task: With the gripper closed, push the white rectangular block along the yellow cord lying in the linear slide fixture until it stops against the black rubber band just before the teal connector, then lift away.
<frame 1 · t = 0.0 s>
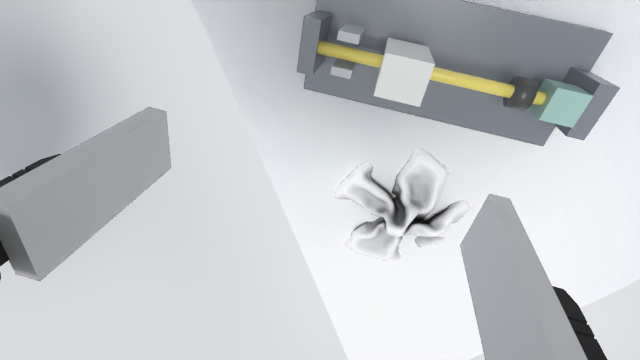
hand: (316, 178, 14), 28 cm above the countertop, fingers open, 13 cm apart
white rectangular block: (402, 69, 30), point 7 cm above the countertop, slide at 0.0 cm
linear slide fixture: (438, 61, 36), on the countertop
cloth: (407, 206, 48), on the countertop
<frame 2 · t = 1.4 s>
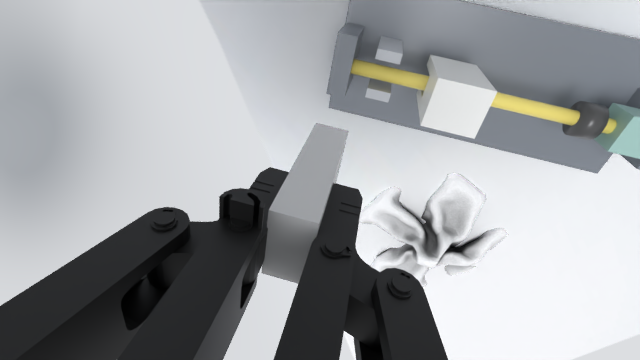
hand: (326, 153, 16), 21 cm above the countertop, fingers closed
white rectangular block: (450, 93, 27), point 7 cm above the countertop, slide at 0.0 cm
linear slide fixture: (482, 79, 32), on the countertop
cloth: (436, 232, 44), on the countertop
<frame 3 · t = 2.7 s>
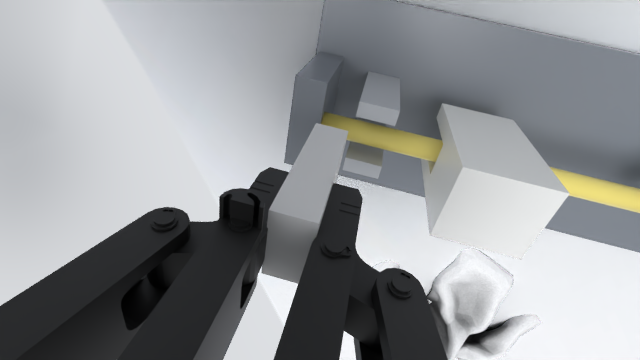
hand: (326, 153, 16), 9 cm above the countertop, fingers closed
white rectangular block: (476, 170, 17), point 7 cm above the countertop, slide at 0.0 cm
linear slide fixture: (515, 132, 22), on the countertop
cloth: (445, 312, 34), on the countertop
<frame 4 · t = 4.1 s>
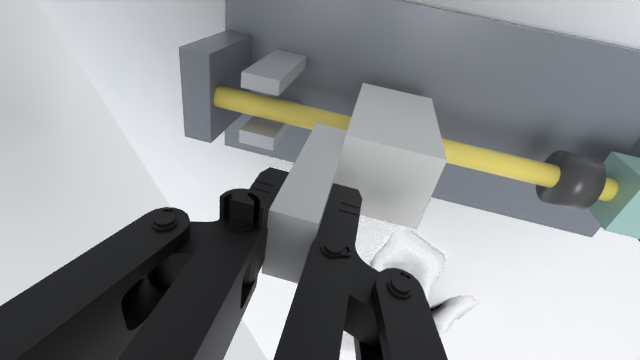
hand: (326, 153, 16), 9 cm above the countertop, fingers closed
white rectangular block: (386, 146, 17), point 7 cm above the countertop, slide at 1.5 cm, touching gripper
linear slide fixture: (426, 109, 23), on the countertop
cloth: (389, 294, 34), on the countertop
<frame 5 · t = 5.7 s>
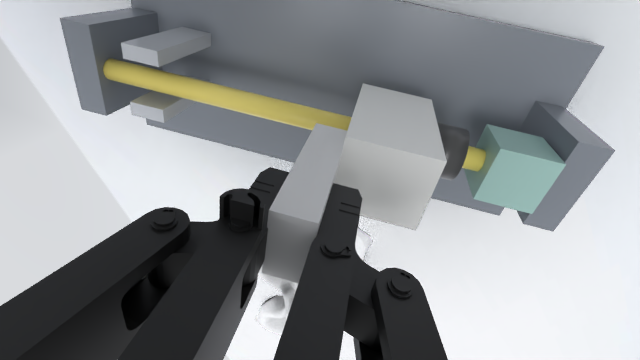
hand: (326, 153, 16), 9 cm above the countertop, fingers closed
white rectangular block: (385, 147, 17), point 7 cm above the countertop, slide at 8.0 cm, touching gripper
linear slide fixture: (333, 87, 23), on the countertop
cloth: (326, 278, 35), on the countertop
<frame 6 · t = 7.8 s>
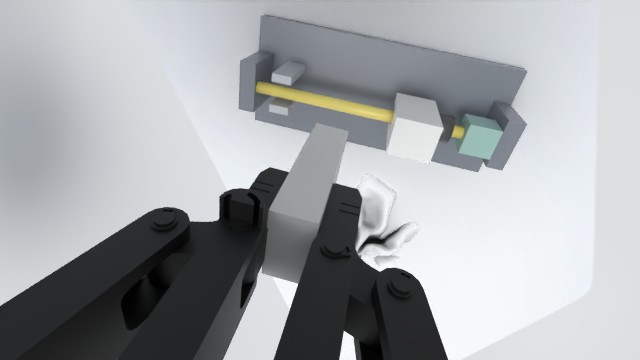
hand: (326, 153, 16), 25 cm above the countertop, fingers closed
white rectangular block: (412, 125, 32), point 7 cm above the countertop, slide at 8.0 cm
linear slide fixture: (376, 95, 39), on the countertop
cloth: (363, 226, 50), on the countertop
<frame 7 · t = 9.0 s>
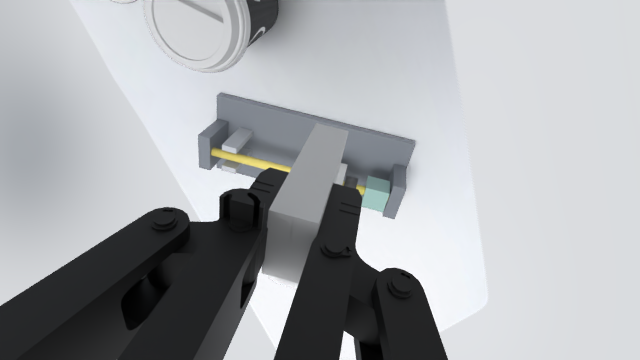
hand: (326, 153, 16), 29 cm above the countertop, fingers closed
coffee cup: (253, 5, 41), on the countertop
white rectangular block: (326, 186, 43), point 7 cm above the countertop, slide at 8.0 cm
linear slide fixture: (309, 153, 50), on the countertop
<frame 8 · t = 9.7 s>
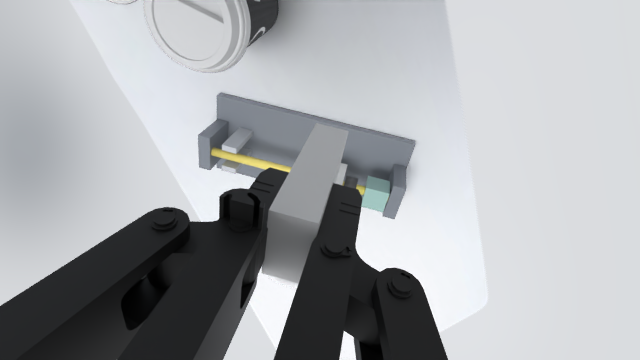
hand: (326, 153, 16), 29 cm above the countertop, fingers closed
coffee cup: (253, 5, 41), on the countertop
white rectangular block: (326, 186, 43), point 7 cm above the countertop, slide at 8.0 cm
linear slide fixture: (309, 153, 50), on the countertop
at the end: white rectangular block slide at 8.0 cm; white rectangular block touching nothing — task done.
